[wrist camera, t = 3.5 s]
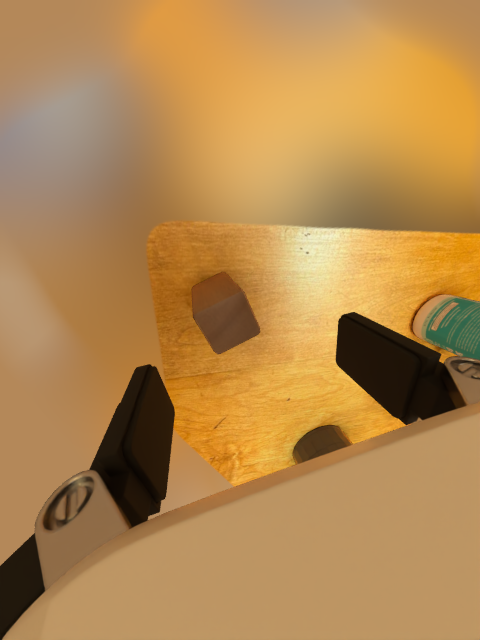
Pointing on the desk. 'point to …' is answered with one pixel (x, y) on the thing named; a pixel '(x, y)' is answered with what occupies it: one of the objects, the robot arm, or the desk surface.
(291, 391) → the desk surface
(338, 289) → the desk surface
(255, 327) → the wooden block
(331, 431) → the bowl
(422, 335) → the pill bottle
